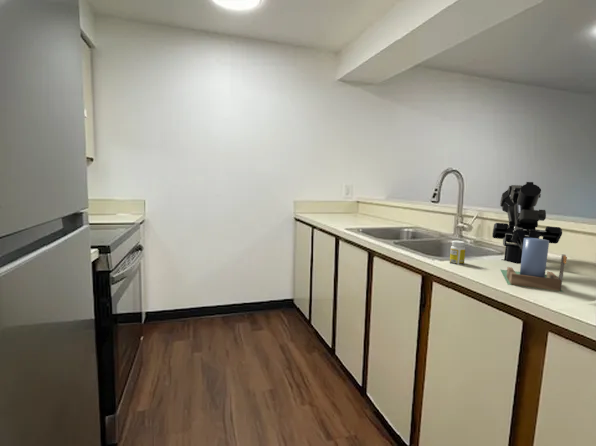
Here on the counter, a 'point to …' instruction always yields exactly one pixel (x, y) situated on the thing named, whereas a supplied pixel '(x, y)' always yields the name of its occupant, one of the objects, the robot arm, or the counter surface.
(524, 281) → the wooden rack
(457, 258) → the supplement bottle
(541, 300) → the counter surface
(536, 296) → the counter surface
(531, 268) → the blue domed cylinder
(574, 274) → the counter surface
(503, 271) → the felt mat
